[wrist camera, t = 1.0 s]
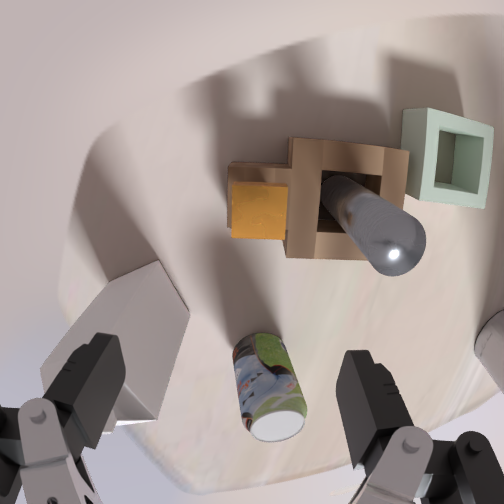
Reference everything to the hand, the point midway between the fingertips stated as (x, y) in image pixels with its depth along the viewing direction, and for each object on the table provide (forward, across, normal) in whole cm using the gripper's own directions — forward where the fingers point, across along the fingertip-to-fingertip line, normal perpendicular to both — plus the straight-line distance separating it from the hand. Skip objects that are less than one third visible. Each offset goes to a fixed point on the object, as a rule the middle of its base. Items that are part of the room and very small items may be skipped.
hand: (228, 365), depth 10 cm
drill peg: (+21, -8, -2) cm, 23 cm away
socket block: (+21, -6, -2) cm, 22 cm away
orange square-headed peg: (+18, -1, -2) cm, 18 cm away
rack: (+21, -18, -8) cm, 29 cm away
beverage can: (+21, -3, +16) cm, 26 cm away
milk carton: (+21, +10, +10) cm, 25 cm away
